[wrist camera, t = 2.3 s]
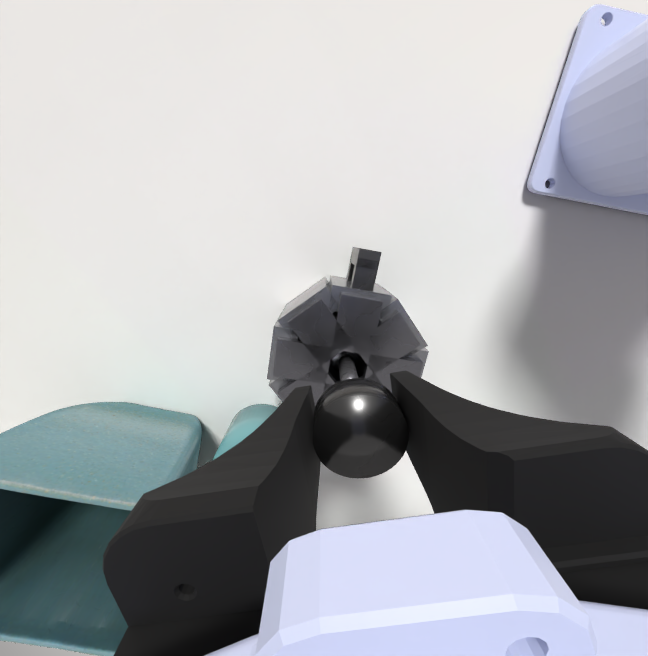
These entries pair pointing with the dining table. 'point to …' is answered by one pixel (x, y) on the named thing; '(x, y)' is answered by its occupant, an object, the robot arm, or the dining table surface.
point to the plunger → (358, 426)
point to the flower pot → (78, 514)
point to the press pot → (344, 332)
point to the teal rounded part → (244, 425)
